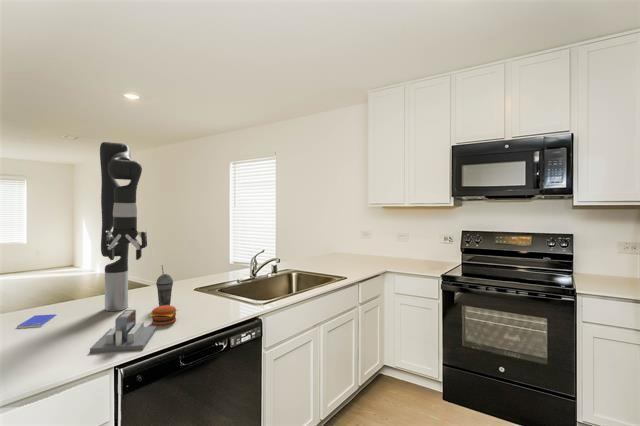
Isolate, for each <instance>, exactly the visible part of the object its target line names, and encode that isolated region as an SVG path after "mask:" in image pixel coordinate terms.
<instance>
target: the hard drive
mask: <svg viewBox="0 0 640 426" xmlns="http://www.w3.org/2000/svg"><path fill="white" fill-rule="evenodd" d="M57 316H58V315H57V314H55V313H54V314H40V315H39V314H38V315H33V316H32V317H30V318H28V319H27V320H25V321H23V322H21V323H20V324H18V325H17V326H16V329H29V328H42V327H44V326H45V325H46V324H48V323H50V322H51V321H53V320H54V319H55V318H57Z"/></svg>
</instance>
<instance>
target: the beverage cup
mask: <svg viewBox="0 0 640 426" xmlns="http://www.w3.org/2000/svg"><path fill="white" fill-rule="evenodd" d="M161 272H162V274H160V276H159V277H157V279H156V283H155V285H156V288H157V299H158V301H157V302H158V307H159V306H163V305H169V306H171V299H172V292H173V291H172V290H173V286H174V280H173V277H172V276H171V275H170V274H168V273H164V265H161Z"/></svg>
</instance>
